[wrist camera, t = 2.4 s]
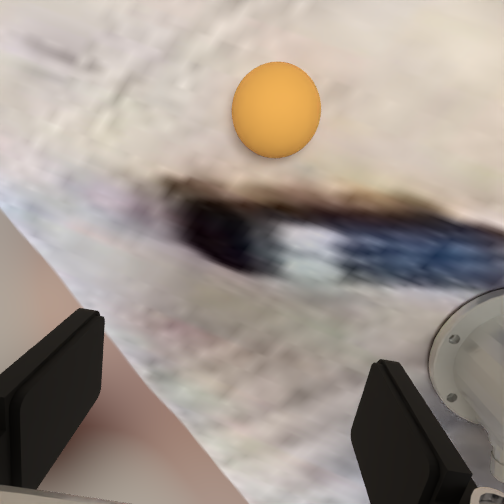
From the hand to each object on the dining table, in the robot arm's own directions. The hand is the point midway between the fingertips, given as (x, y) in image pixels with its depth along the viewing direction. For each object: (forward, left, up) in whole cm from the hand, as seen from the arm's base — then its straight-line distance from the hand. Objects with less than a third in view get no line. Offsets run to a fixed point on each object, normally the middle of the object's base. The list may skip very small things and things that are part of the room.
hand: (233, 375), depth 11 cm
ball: (+9, -3, -14) cm, 16 cm away
